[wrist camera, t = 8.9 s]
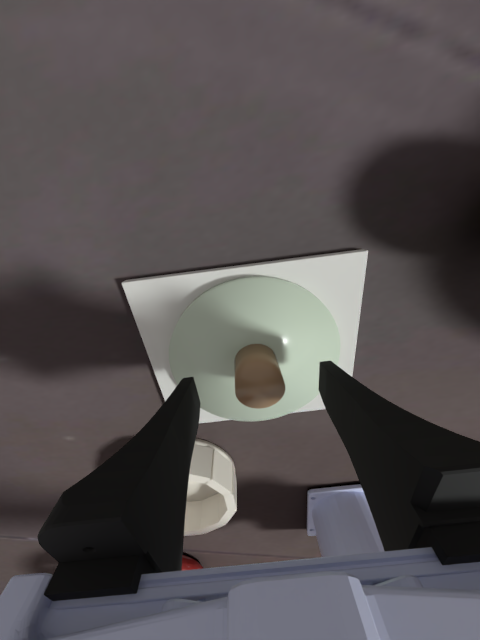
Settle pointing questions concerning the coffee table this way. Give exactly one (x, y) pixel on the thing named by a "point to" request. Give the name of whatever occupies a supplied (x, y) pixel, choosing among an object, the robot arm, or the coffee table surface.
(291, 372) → the lid
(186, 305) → the mat
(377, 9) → the coffee table surface
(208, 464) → the dish
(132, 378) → the coffee table surface
